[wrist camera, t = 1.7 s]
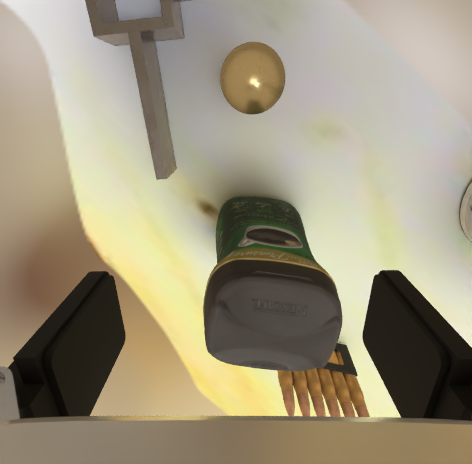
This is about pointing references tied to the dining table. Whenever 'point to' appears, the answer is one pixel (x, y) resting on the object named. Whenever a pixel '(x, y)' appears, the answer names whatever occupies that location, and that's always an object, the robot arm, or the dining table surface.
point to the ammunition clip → (325, 387)
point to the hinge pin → (252, 78)
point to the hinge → (144, 66)
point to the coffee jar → (268, 291)
